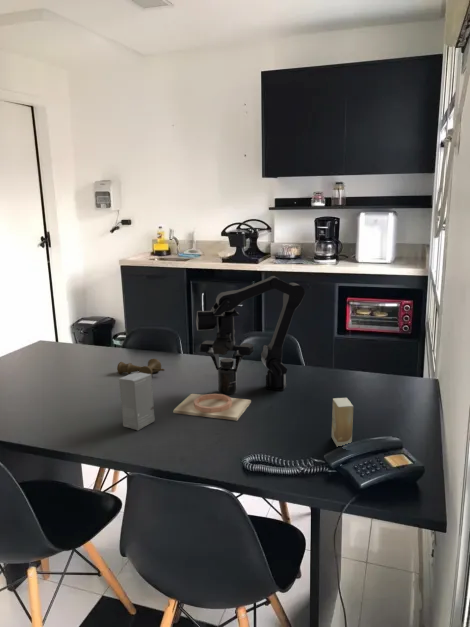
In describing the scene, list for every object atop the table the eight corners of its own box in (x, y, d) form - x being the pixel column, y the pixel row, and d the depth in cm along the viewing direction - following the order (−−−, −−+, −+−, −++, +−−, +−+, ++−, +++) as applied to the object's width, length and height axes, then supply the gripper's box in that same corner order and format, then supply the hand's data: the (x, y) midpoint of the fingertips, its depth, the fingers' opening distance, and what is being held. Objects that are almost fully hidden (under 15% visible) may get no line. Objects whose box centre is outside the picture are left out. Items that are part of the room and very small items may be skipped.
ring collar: (236, 399, 173) (236, 395, 172) (224, 414, 161) (223, 409, 161) (202, 396, 177) (202, 392, 176) (188, 410, 165) (188, 405, 165)
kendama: (125, 370, 210) (170, 372, 205) (114, 379, 201) (160, 381, 196) (124, 357, 209) (168, 358, 204) (112, 364, 200) (159, 366, 195)
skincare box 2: (331, 437, 146) (331, 397, 144) (345, 436, 147) (346, 396, 144) (337, 447, 140) (338, 406, 137) (352, 446, 140) (353, 405, 138)
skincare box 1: (138, 431, 153) (134, 381, 149) (120, 426, 156) (117, 378, 153) (156, 421, 160) (153, 373, 156) (139, 416, 163) (136, 370, 160)
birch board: (250, 402, 173) (250, 399, 172) (237, 420, 159) (237, 417, 159) (191, 396, 179) (191, 393, 179) (173, 412, 166) (173, 410, 165)
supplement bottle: (234, 395, 179) (234, 363, 176) (216, 394, 180) (215, 362, 178) (238, 388, 186) (238, 357, 183) (220, 387, 187) (219, 356, 184)
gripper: (192, 332, 173) (194, 375, 177) (244, 336, 167) (245, 380, 171) (204, 325, 184) (206, 365, 187) (253, 328, 178) (254, 370, 181)
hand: (227, 370), depth 181 cm, fingers closed on supplement bottle, 7 cm apart
